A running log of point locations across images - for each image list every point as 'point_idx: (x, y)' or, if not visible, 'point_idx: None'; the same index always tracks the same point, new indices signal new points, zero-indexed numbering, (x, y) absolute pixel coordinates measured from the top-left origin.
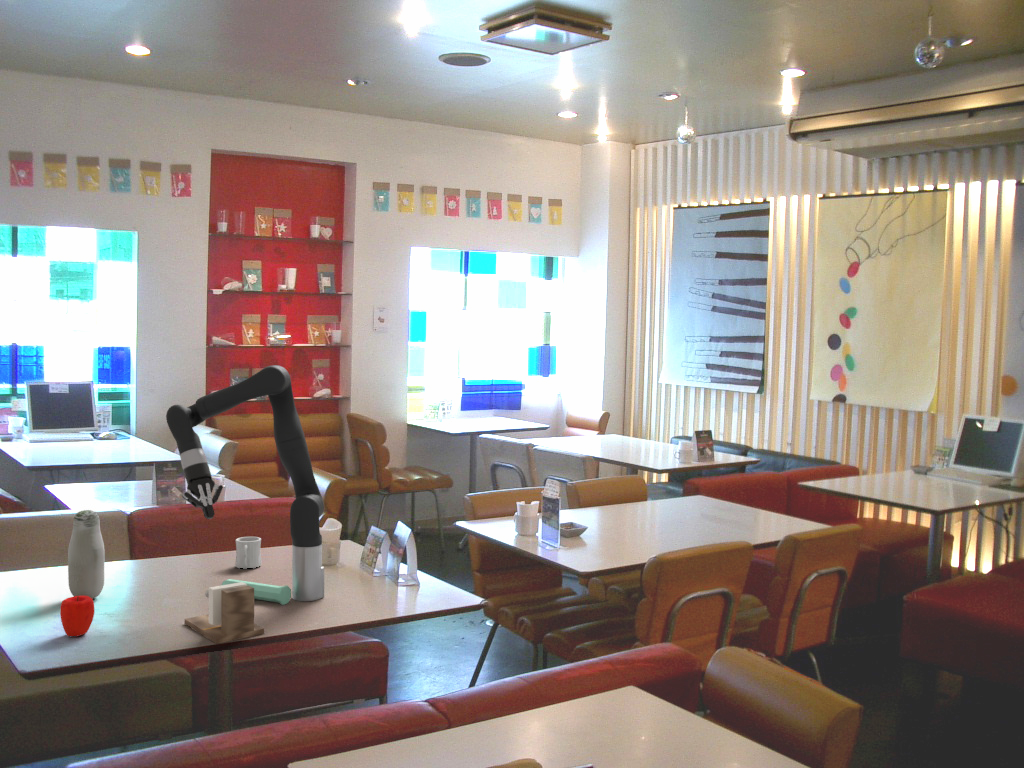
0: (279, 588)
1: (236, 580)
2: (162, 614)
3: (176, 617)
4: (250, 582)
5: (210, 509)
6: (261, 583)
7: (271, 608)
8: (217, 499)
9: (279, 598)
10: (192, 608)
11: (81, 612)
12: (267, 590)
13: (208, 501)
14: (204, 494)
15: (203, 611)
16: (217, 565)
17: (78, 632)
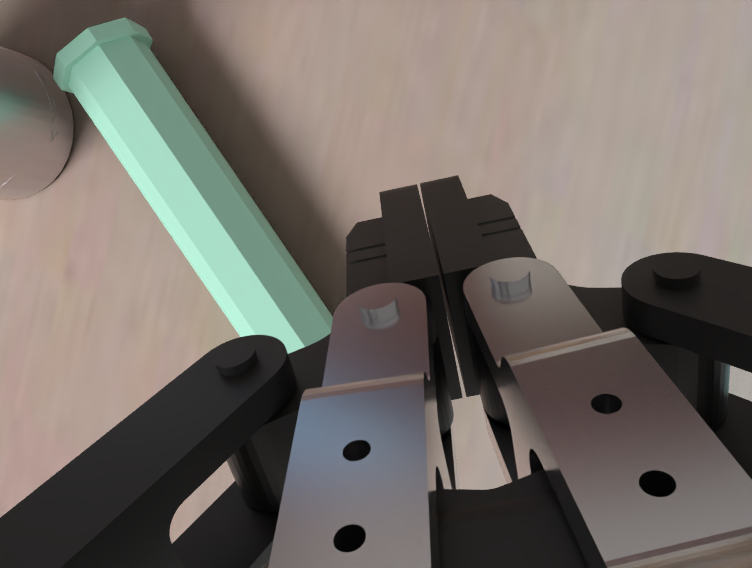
0: (107, 54)
1: None
2: (741, 142)
3: (685, 51)
4: (220, 266)
5: (409, 239)
6: (171, 210)
7: (203, 12)
8: (183, 374)
9: (139, 25)
10: (566, 187)
11: None
12: (169, 108)
13: (421, 327)
14: (509, 497)
15: (527, 105)
16: None
17: None
